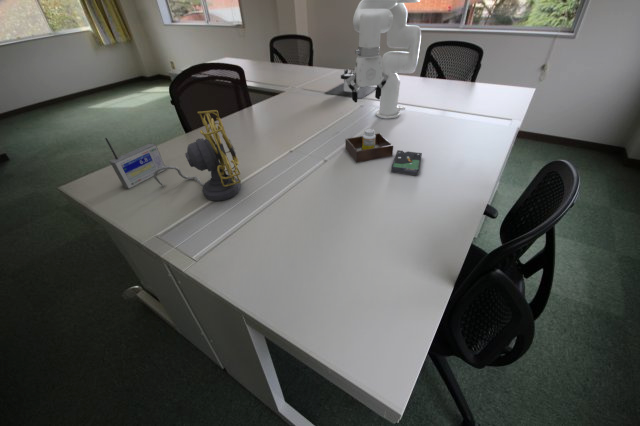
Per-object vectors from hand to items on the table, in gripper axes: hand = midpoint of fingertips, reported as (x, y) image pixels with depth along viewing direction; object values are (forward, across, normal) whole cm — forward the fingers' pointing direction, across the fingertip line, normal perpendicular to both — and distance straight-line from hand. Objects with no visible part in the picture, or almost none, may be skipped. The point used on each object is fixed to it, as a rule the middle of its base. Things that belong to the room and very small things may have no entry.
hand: (366, 99), depth 118 cm
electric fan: (+23, -70, -12) cm, 74 cm away
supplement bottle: (+23, +1, -2) cm, 23 cm away
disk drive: (+23, +12, -18) cm, 31 cm away
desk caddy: (+22, +1, -2) cm, 23 cm away
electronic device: (+23, -94, +10) cm, 97 cm away
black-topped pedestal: (+22, +27, +87) cm, 94 cm away
